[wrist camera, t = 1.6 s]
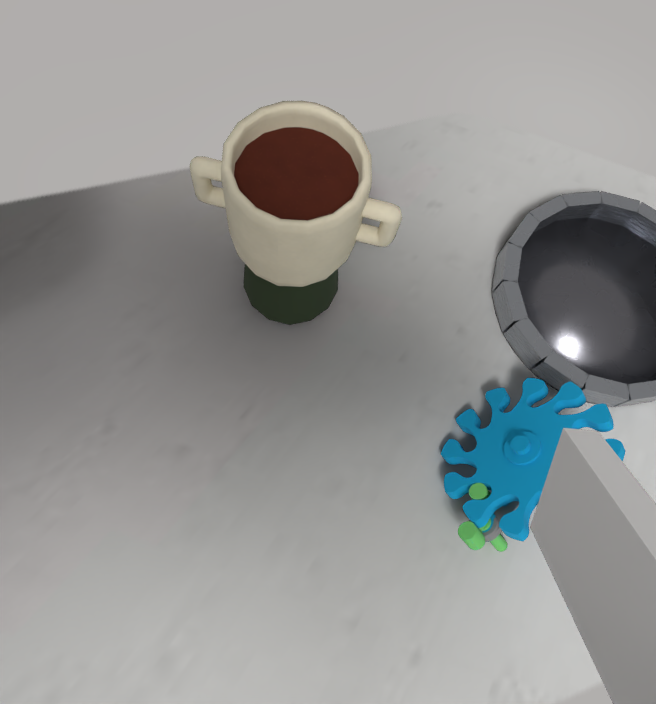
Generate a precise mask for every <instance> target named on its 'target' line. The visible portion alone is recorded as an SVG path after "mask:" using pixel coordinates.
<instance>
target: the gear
mask: <svg viewBox="0 0 656 704" xmlns="http://www.w3.org/2000/svg"><path fill="white" fill-rule="evenodd" d="M522 387H523V392H522V396H521V399H520V401H519V402H518V404H517V405H516V406H515V407H514V408H513V410H512V411H510V412H507V413H503V412H504V410H505V409H506V408H507V406H508V405H509V404H510V397H509V395H508V393H507V392H506V390H505V388H496V389H493V390H490V391H487V392H486V395H485V397H486V400H487V401H488V403H489V405H490V406H491V408H492V418H491V422H490V424H489V426H488V427H486V428H484V429H480V425H481V421H480V419H479V417H478V416H477V414H476V413H475V411H474V410H473V409H468V410H466V411H465V412H463V413H462V414H461V415H459V416H458V417H457V418H456V422H457V424H458V425H459V426H460V428H461V429H462V430H463V431H464V432H465V433H469V434H471V435H473V436H474V437H475V438H476V441H477V446H476V448H475V449H474V450H473V451H471V452H465V451H464V449H463V448H462V446H461V445H460V444H459V442H458V441H457V440H454V439H449V440H448V441H447V442H446V444H445V445H444V447H443V449H442V452H441V455H442V457H443V458H444V459H445V460H446V462H447V463H449V464H452V465H454V464H468V465H471V466H473V467H475V468H476V469H477V471H476V473H475V474H474V475H473V476H472V477H469V478H465V477H463V476H461V475H460V474H458V473H456V472H450V473H447V474H446V475H445V478H444V487H445V492H446V493H447V494H448V495H449V496H450V498H452V499H458V498H461V497H462V496H464V495H465V494H467V493H469V495H470V497H471V498H472V499H473V500H469V501H467V502H466V503H465V504H464V505H463V511H464V512H465V514H466V515H467V517H468V518H469V521H467V522H464V523H462V524H461V525H460V526H459V528H458V534H459V536H460V538H461V539H462V540H463V541H464V542H465V543H466V544H467V545H468V546H469V547H470V548H471V549H473V550H478V549H481V548H482V547H483V546H484V544H485V542H489V541H490V542H491V543H492V545H493V546H494V547H495V548H496V549H497V550H498V551H501V552H502V551H505V550H506V548H507V542H506V541H505V540H504V538H503V537H502V536H501V535H500V533H501V532H502V531H503V532H504V533H505V534H506V535H507V536H509V537H510V538H513V539H516V540H519V541H524V540H525V539H526V538H527V537H528V534H529V519H530V515H531V513H532V511H533V509H534V508H535V507H536V505H537V504H538V502H539V499H540V496H541V493H542V490H543V487H544V484H545V481H546V478H547V475H548V472H549V469H550V466H551V463H552V460H553V457H554V454H555V451H556V448H557V445H558V442H559V439H560V436H561V433H562V430H563V428H571V429H580V428H582V427H590V428H593V429H595V430H597V431H600V432H607V431H610V430H612V429H613V420H612V417H611V414H610V412H609V410H608V407H607V405H606V404H603V403H602V404H596V405H594V406H592V407H591V408H589V409H588V410H586V411H584V412H581V413H578V414H572V415H558V413H559V412H560V411H561V410H562V409H565V408H577V407H580V406H582V405H583V404H584V403H585V402H586V398H585V396H584V393H583V391H582V390H581V388H580V387H579V386H577V385H576V384H574V383H573V382H571V381H570V382H567V383H565V384H564V385H562V387H561V388H560V390H559V392H558V393H557V395H556V396H555V397H554V398H553V399H551V400H550V401H548V402H547V403H545V404H543V405H541V406H538V407H535V408H533V407H531V406H532V405H533V404H534V403H535V402H537V401H540V400H542V399H543V398H545V397H546V396H547V394H548V388H547V386H546V384H545V382H544V381H543V380H540V379H536V378H527V379H526V380H525V381H524V382H523V385H522ZM606 442H607V443H608V444H609V445H610V447H611V448H612V449H613V450H614V452H615V453H616V454H617V455H618V457H619V458H620V459H621V460H622V461H623V458H624V455H625V449H624V447H623V445H622V443H621V442H620V441H618V440H616V439H606ZM489 490H492V492H491V493H490V492H489Z"/></svg>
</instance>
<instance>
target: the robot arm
mask: <svg viewBox="0 0 656 704" xmlns="http://www.w3.org/2000/svg"><path fill="white" fill-rule="evenodd" d="M530 528H531V530H532V532H533V534H534V536H535V538H536V541H537V543H538V545H539V547H540V549H541V551H542V553H543V556H544V558H545V560H546V562H547V564H548V566H549V568H550V570H551V573H552V575H553V577H554V579H555V581H556V583H557V585H558V587H559V590H560V592H561V594H562V596H563V598H564V600H565V602H566V605H567V607H568V609H569V611H570V613H571V615H572V617H573V619H574V622H575V624H576V626H577V628H578V630H579V632H580V634H581V636H582V639H583V641H584V643H585V645H586V647H587V649H588V651H589V654H590V656H591V658H592V660H593V662H594V664H595V666H596V668H597V671H598V673H599V675H600V677H601V679H602V681H603V683H604V685H605V688H606V690H607V692H608V694H609V696H610V698H611V700H612V703H613V704H656V503H655V502H654V501H653V499H652V498H651V497H650V496H649V494H648V493H647V492H646V491H645V489H644V488H643V487H642V486H641V484H640V483H639V482H638V481H637V479H636V478H635V477H634V476H633V474H632V473H631V472H630V471H629V469H628V468H627V467H626V465H625V464H624V463H623V462H622V460H621V459H620V458H619V457H618V455H617V454H616V453H615V452H614V450H613V449H612V448H611V447H610V445H609V444H608V443H607V442H606V440H605V439H604V438H603V437H602V435H601V434H600V433H599V432H598V431H594V430H582V429H571V428H563V430H562V433H561V436H560V439H559V442H558V445H557V448H556V451H555V454H554V457H553V460H552V463H551V466H550V469H549V472H548V475H547V478H546V481H545V484H544V487H543V490H542V493H541V496H540V499H539V502H538V505H537V508H536V511H535V514H534V517H533V520H532V523H531V526H530Z"/></svg>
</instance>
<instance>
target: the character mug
mask: <svg viewBox="0 0 656 704" xmlns="http://www.w3.org/2000/svg"><path fill="white" fill-rule="evenodd" d="M190 172H191V177H192V181H193V186H194V190H195V194H196V196H197V198H198V199H199V200H200V201H202V202H204V203H206V204H210V205H214V206H218V207H222V208H226V213H227V220H228V227H229V232H230V235H231V238H232V240H233V243H234V246H235V249H236V251H237V254H238V255H239V257H240V258H241V259H242V261H243V262H244V263H245V271H244V289H245V291H246V293H247V295H248V297H249V300H250V302H251V304H252V306H253V307H254V308H256V309H257V310H258V311H259V312H260V313H262V314H263V315H264V316H265V317H266V318H268V319H269V320H273V321H277V322H281V323H285V324H289V325H291V324H296V323H300V322H305V321H310V320H312V319H314V318H315V317H316V316H318V315H319V314H320V313H322V312H323V311H324V310H326V309H327V308H328V307H329V305H330V304H331V302H332V300H333V298H334V296H335V294H336V292H337V290H338V268H339V267H340V266H341V265H342V264H343V263H345V262H346V261H347V259H348V257H349V255H350V253H351V251H352V249H353V247H354V245H355V243H356V241H359V242H363V243H367V244H371V245H375V246H379V247H387V246H388V245H389V244H391V242H392V241H393V240H394V238H395V236H396V233H397V230H398V228H399V225H400V223H401V220H402V214H401V210H400V208H399V207H398V206H396V205H394V204H392V203H388V202H384V201H380V200H376V199H372V198H368V196H369V193H370V189H371V182H372V173H371V154H370V152H369V150H368V148H367V146H366V143H365V141H364V139H363V137H362V135H361V133H360V132H359V131H358V130H357V129H356V128H355V127H354V126H353V125H352V124H351V123H350V122H349V121H348V120H347V119H346V118H345V117H344V116H342V115H341V114H339V113H337V112H336V111H334V110H332V109H330V108H328V107H325V106H323V105H320V104H317V103H313V102H306V101H282V102H279V103H275V104H272V105H268V106H265V107H261V108H259V109H257V110H256V111H254V112H253V113H251V114H250V115H248V116H247V117H245V118H244V119H242V120H241V121H240V122H238V123H237V125H236V126H235V128H234V129H233V131H232V132H231V133H230V135H229V136H228V138H227V139H226V141H225V143H224V145H223V155H222V161H220V160H216V159H211V158H207V157H195V158H193V159H192V160H191V163H190ZM211 179H212V180H216V181H220V182H222V187H223V189H222V188H218V187H215V186H213V185H212V184H211ZM363 217H364V218H368V219H372V220H376V221H380V226H379V227H374V226H371V225H367V224H363V223H362V219H363Z"/></svg>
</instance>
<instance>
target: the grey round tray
mask: <svg viewBox="0 0 656 704" xmlns="http://www.w3.org/2000/svg"><path fill="white" fill-rule="evenodd" d="M492 292H493V294H492V297H493V302H494V307H495V312H496V316H497V319H498V322H499V325H500V327H501V329H502V332H503V335H504V336H505V338H506V340H507V341H508V343H509V344H510V346H511V348H512V349H513V351H514V352H515V353H516V355H517V356H518V357H519V358H520V360H521V361H522V362H523V363H524V364H525V365H526V366H527V367H528V369H530V370H531V371H532V372H533V373H534V374H535V375H536V376H538V377H539V378H540V379H542V380H543V381H544V382H545V383H547V384H548V385H550V386H552V387H553V388H555V389H557V390H558V391H559V390H560V388H561V387H562V385H564V384H565V383H567V382H570V381H571V382H573V383H574V384H576V385H577V386H579V387H580V388H581V390H582V391H583V393H584V396H585V398H586V402H588V403H593V404H602V403H603V404H606V405H607V406H608V407H612V406H613V407H619V406H626V405H634V404H639V403H646V402H652V401H655V400H656V210H654V209H653V208H651V207H649V206H648V205H646V204H645V203H643V202H641V203H640V201H638V200H634V199H630V198H626V197H623V196H619V195H615V194H611V193H607V192H603V191H601V192H599V191H593V192H583V193H572V194H562V196H561V195H559V196H558V197H556V198H554V199H552V200H550V201H548V202H547V203H545V204H543V205H541V206H539V207H537V208H535V209H534V210H532V211H530V212H529V213H528V214H527V215H526V217H525V218H524V219H523V221H522V222H521V223H520V225H519V226H518V227H517V229H516V230H515V231H514V233H513V234H512V236H511V237H510V239H509V240H508V241H507V243H506V244H505V246H504V247H503V249H502V250H501V251H500V253H499V254H498V257H497V261H496V266H495V271H494V275H493V287H492Z"/></svg>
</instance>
